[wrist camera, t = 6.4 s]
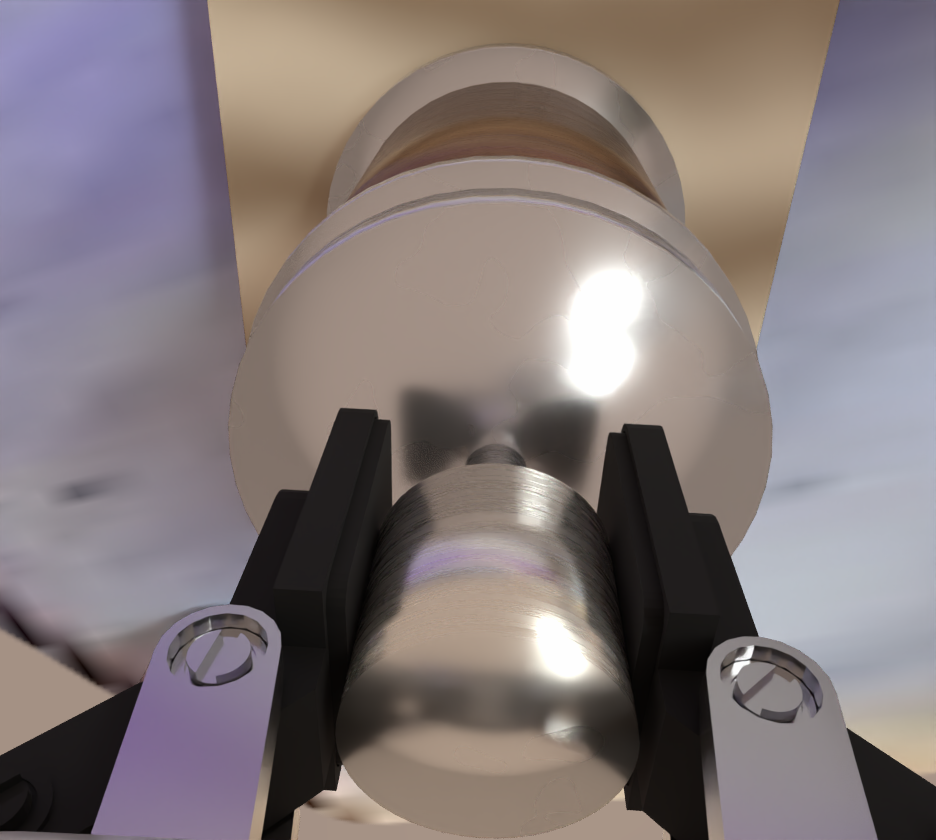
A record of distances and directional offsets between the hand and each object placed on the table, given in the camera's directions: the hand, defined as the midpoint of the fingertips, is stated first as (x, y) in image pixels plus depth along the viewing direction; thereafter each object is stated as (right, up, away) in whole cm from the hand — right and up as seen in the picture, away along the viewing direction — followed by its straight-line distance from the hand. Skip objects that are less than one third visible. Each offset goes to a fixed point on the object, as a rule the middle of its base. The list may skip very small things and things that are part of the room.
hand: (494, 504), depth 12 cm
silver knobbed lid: (0, +1, +1) cm, 2 cm away
